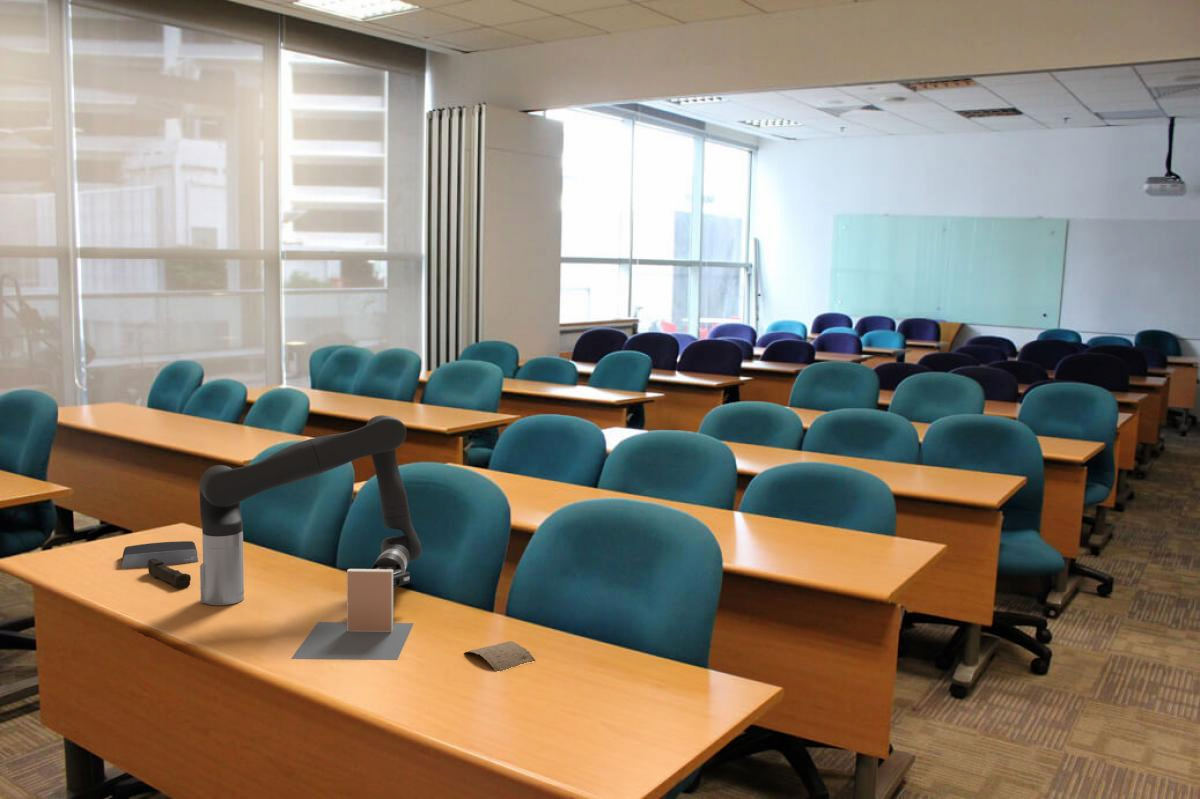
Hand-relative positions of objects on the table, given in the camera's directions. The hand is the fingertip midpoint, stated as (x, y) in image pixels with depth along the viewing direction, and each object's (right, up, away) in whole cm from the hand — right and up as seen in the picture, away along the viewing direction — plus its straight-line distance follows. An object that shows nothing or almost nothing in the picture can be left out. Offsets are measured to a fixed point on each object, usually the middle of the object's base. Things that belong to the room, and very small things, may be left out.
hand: (376, 589), depth 222 cm
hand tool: (-62, -4, +28) cm, 68 cm away
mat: (-2, -9, -11) cm, 15 cm away
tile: (0, -8, -5) cm, 10 cm away
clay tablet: (+30, -12, -18) cm, 37 cm away
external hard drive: (-72, -2, +47) cm, 86 cm away
